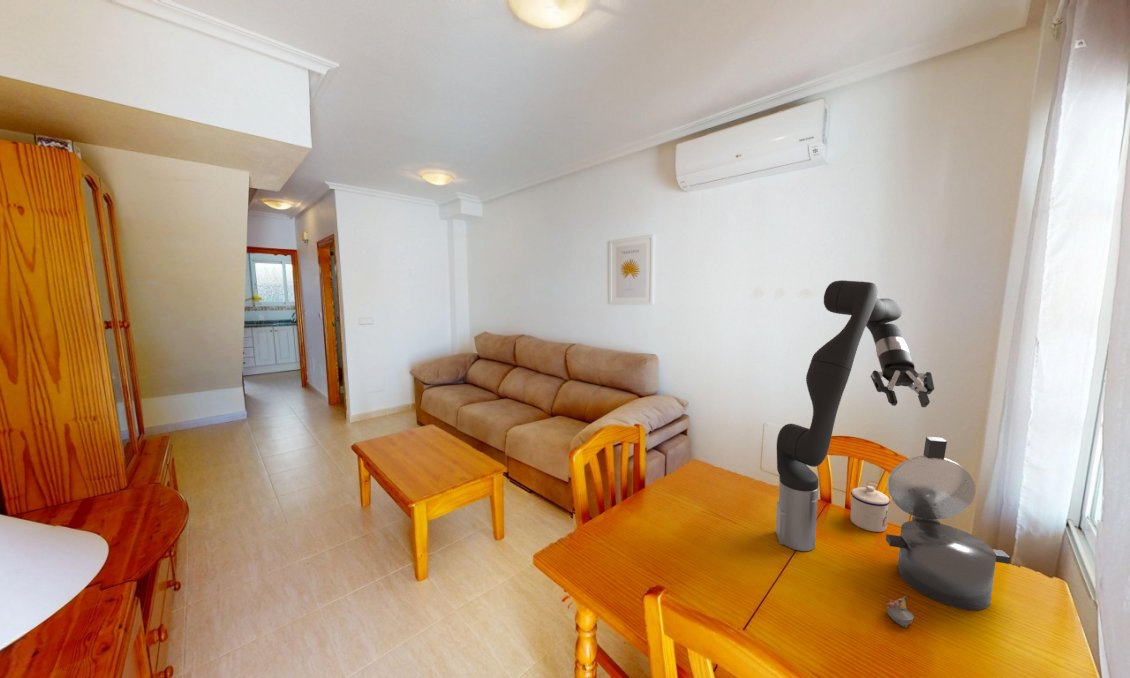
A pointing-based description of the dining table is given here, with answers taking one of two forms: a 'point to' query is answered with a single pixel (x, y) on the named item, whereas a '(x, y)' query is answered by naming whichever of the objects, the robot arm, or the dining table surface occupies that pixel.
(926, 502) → the lid
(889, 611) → the figurine
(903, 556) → the pot
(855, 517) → the white lidded canister
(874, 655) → the dining table surface
